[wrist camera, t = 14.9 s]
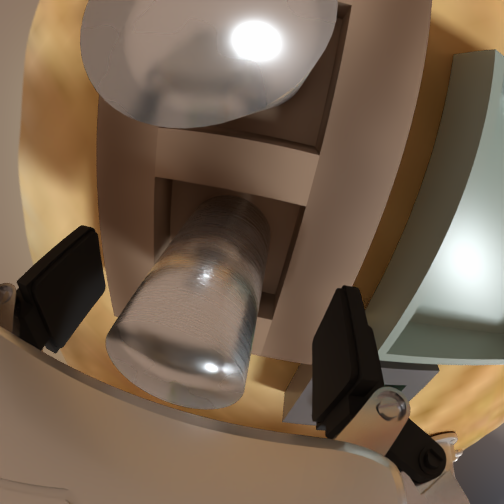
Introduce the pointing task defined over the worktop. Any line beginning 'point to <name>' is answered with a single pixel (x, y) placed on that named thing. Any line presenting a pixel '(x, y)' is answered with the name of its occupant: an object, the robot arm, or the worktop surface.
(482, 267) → the tote
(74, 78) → the worktop surface
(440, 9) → the worktop surface
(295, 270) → the board
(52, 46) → the worktop surface
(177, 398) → the billet
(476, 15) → the worktop surface
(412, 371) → the button console
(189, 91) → the cylinder
